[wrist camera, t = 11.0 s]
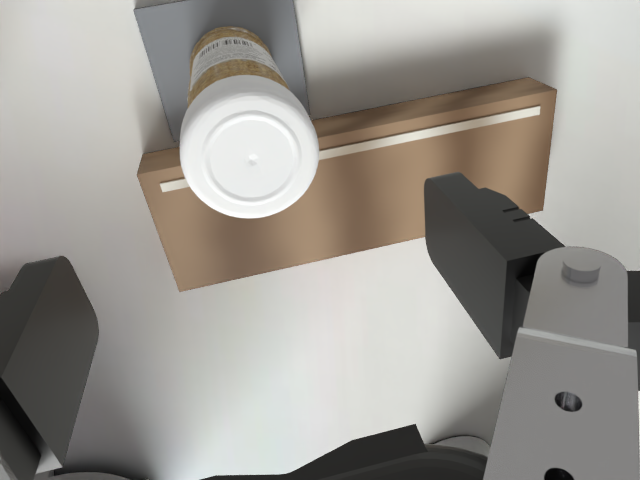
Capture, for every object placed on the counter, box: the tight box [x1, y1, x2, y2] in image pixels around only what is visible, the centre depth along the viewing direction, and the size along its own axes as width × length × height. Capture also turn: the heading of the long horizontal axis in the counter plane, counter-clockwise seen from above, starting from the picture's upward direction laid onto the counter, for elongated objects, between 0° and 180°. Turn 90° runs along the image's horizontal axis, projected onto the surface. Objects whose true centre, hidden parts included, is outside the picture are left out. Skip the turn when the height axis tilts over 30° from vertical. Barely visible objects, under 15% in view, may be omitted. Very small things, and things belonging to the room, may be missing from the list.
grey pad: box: [134, 0, 310, 142], centre depth 28 cm, size 8×7×1 cm
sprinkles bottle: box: [180, 26, 319, 218], centre depth 22 cm, size 5×5×14 cm
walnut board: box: [137, 77, 557, 292], centre depth 31 cm, size 24×8×3 cm, turn 98°
